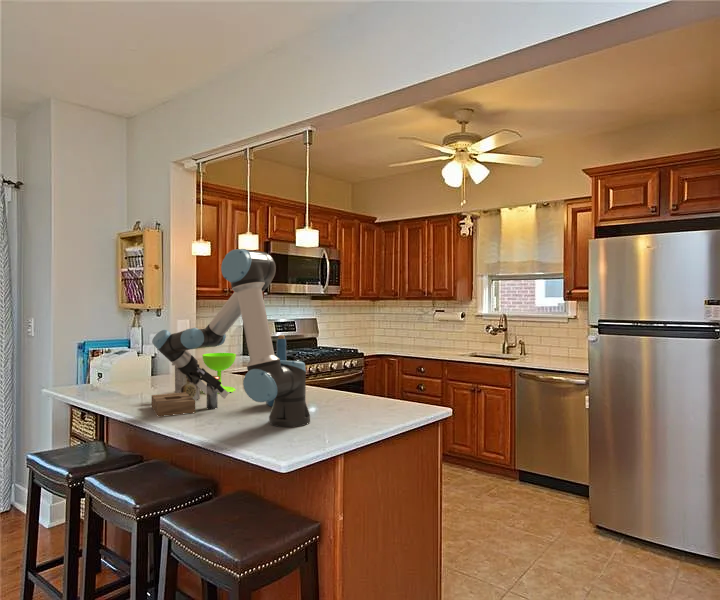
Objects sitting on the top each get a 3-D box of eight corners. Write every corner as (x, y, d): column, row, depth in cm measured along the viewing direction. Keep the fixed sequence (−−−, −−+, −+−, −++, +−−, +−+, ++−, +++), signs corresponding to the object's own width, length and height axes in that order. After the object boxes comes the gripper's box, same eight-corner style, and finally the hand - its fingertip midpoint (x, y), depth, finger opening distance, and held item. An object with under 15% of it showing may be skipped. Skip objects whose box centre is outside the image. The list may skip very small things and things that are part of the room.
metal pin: (221, 408, 221) (221, 377, 220) (205, 410, 218) (205, 378, 217) (217, 406, 226) (218, 375, 226) (202, 407, 223) (202, 376, 223)
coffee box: (193, 397, 244) (193, 362, 244) (200, 399, 239) (200, 364, 239) (174, 400, 238) (174, 364, 237) (181, 402, 233) (181, 365, 233)
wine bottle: (259, 405, 229) (259, 335, 228) (283, 400, 238) (283, 333, 238) (279, 409, 219) (279, 337, 219) (303, 405, 229) (303, 335, 229)
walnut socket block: (195, 412, 213) (195, 400, 213) (158, 416, 206) (158, 403, 206) (186, 403, 230) (186, 392, 230) (151, 406, 224) (151, 395, 224)
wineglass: (221, 387, 272) (221, 352, 272) (242, 390, 263) (242, 354, 263) (195, 391, 259) (195, 354, 259) (216, 395, 250) (216, 357, 250)
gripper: (162, 365, 219) (195, 397, 230) (195, 371, 202) (228, 405, 213) (174, 351, 222) (206, 383, 234) (207, 356, 206) (239, 390, 217)
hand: (216, 393), depth 224 cm, fingers open, 13 cm apart
